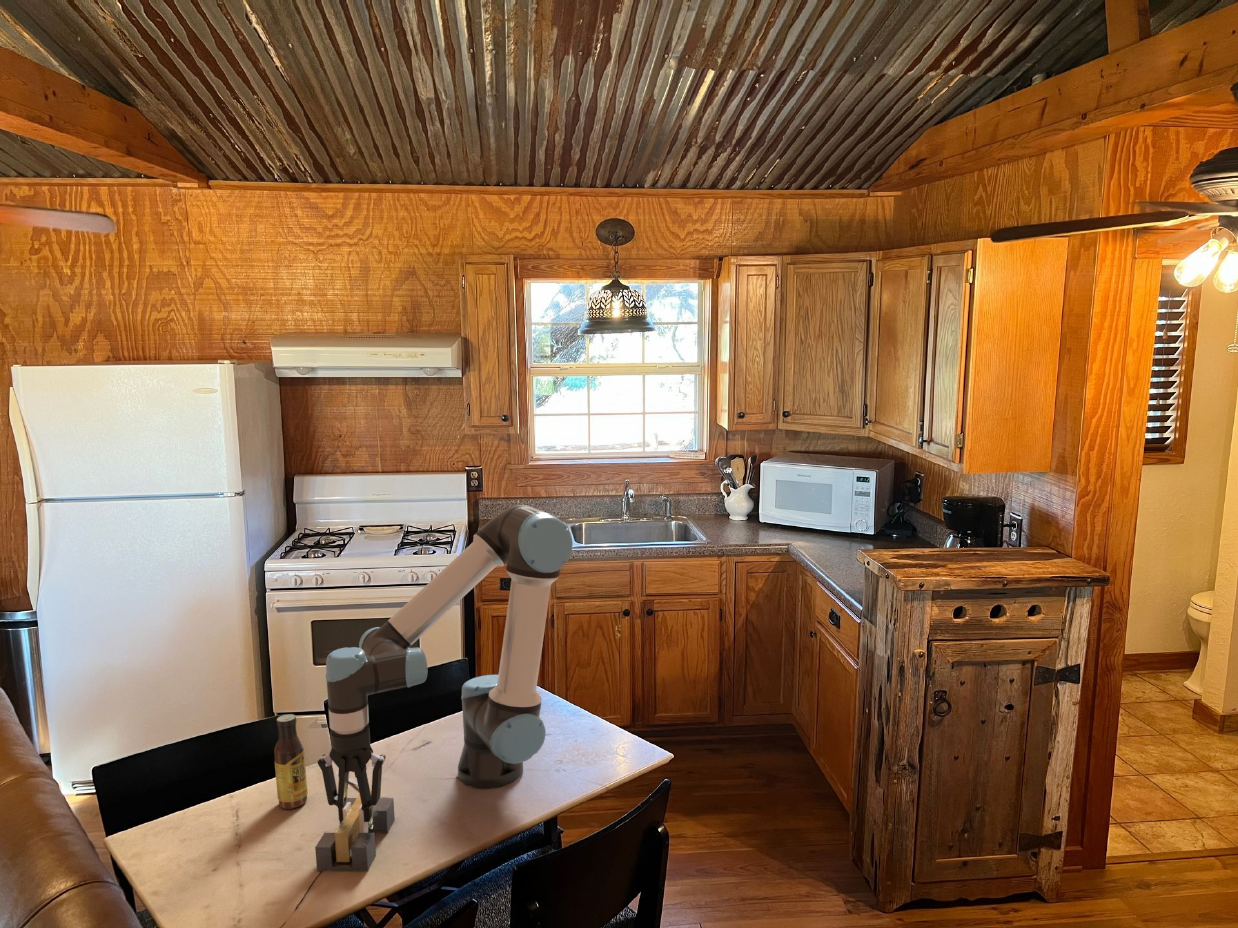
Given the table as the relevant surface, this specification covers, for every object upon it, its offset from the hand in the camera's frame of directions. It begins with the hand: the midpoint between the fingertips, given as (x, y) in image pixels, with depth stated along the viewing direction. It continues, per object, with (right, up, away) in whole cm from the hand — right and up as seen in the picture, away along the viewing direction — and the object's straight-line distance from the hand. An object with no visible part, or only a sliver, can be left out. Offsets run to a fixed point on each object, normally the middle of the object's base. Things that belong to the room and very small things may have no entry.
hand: (356, 834), depth 180 cm
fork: (-7, +1, +24) cm, 25 cm away
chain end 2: (0, -3, -6) cm, 7 cm away
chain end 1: (0, -1, +7) cm, 7 cm away
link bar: (0, -1, 0) cm, 1 cm away
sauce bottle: (-19, 0, +17) cm, 25 cm away
